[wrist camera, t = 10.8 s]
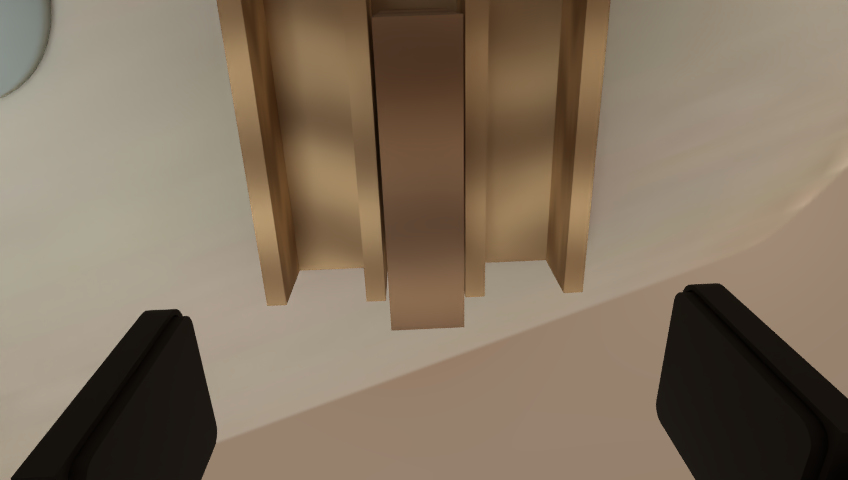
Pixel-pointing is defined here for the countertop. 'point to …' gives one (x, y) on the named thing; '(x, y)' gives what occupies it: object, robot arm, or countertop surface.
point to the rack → (359, 134)
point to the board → (422, 163)
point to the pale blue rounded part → (22, 40)
